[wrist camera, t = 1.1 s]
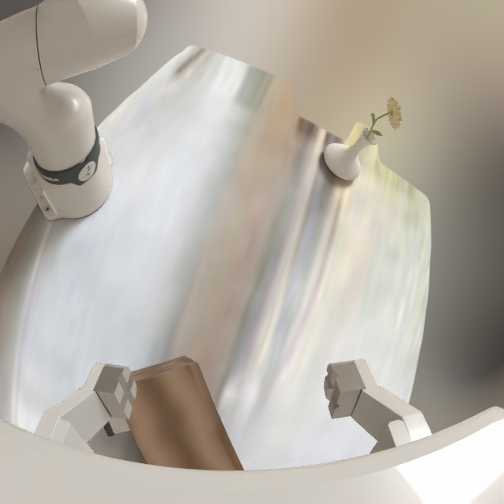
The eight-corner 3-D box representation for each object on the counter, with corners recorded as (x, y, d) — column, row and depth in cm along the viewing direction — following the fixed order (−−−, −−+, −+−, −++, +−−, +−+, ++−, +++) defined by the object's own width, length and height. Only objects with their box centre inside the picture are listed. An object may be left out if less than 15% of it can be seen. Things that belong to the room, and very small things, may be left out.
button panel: (178, 486, 38) (191, 532, 23) (125, 373, 42) (112, 388, 28) (232, 467, 42) (263, 507, 28) (184, 355, 46) (197, 363, 32)
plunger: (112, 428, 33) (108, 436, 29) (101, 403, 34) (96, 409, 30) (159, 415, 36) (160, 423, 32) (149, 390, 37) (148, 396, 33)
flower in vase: (353, 190, 71) (419, 138, 48) (317, 168, 69) (378, 106, 46) (358, 157, 76) (415, 106, 54) (325, 136, 74) (378, 78, 52)
